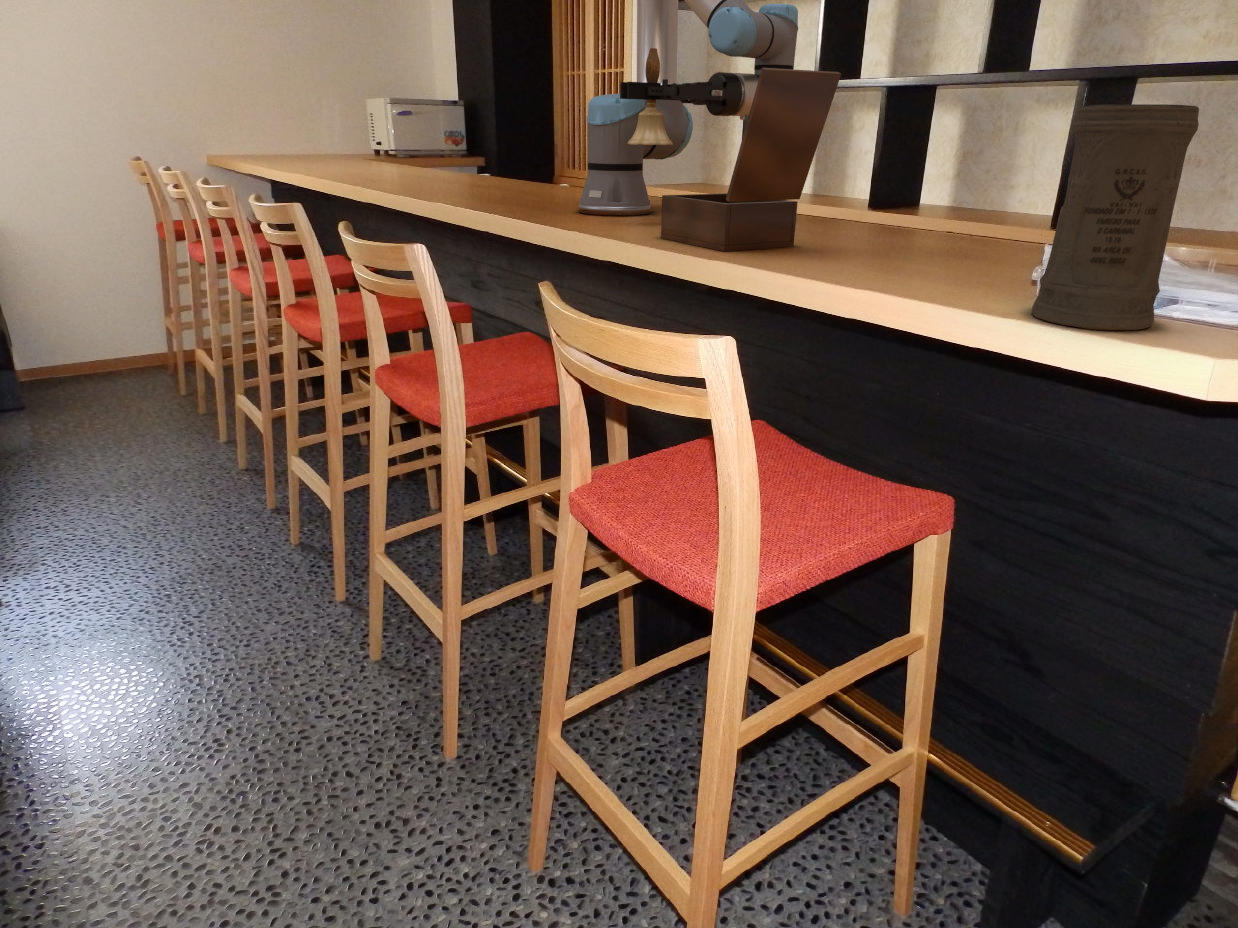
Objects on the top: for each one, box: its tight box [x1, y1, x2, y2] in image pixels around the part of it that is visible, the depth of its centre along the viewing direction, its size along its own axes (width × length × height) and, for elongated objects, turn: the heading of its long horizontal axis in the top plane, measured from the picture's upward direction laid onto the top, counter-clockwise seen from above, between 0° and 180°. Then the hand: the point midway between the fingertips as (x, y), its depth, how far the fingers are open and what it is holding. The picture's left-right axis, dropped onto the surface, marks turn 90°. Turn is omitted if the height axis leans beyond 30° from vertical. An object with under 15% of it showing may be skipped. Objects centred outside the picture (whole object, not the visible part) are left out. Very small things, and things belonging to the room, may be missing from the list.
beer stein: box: [1030, 103, 1200, 331], centre depth 82 cm, size 15×11×20 cm
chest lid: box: [726, 68, 842, 202], centre depth 120 cm, size 18×14×1 cm
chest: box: [660, 192, 798, 252], centre depth 134 cm, size 18×14×7 cm
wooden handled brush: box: [628, 48, 673, 145], centre depth 151 cm, size 8×8×16 cm
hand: (624, 90), depth 148 cm, fingers closed on wooden handled brush, 2 cm apart
